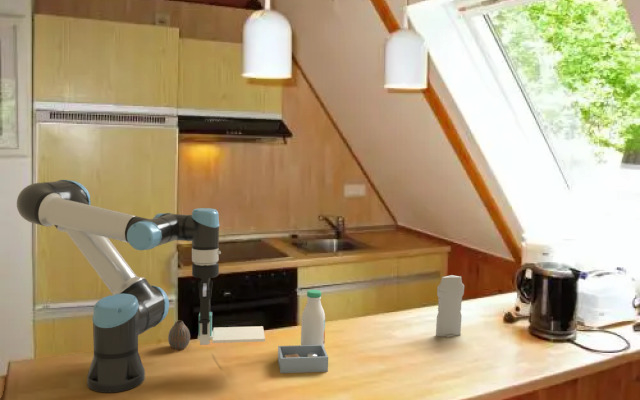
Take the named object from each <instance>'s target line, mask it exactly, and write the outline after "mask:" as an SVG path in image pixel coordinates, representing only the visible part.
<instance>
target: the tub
mask: <svg viewBox="0 0 640 400" xmlns="http://www.w3.org/2000/svg"><path fill="white" fill-rule="evenodd" d="M308 353H316V354H318V357H307V354H308ZM290 354H298V355H299V356H300V357H291V358H284V355H290ZM277 363H278V367H279V372H280V374H294V373H295V374H297V373H298V374H299V373H321V372H322V373H324V372H325V373H327V372H328V371H329V368H328V367H329V356H328V354H327V351H326V349H325V345H324V346H323V345H301V344H300V345H278V346H277Z"/></svg>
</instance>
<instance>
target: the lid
mask: <svg viewBox="0 0 640 400" xmlns="http://www.w3.org/2000/svg"><path fill="white" fill-rule="evenodd" d="M212 312H213V311H210V312H209V320H210V340H212V344H225V343H227V344H228V343H257V342H260V343H261V342H266V335H265V331H264V326H262V325H261V326H228V327H226V326H224V327H223V326H222V327H219V326H218V327H213V315H212ZM198 321H200V311H199V314H198ZM197 340H198V341H200V323H198V335H197Z"/></svg>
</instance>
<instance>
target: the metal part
mask: <svg viewBox="0 0 640 400" xmlns="http://www.w3.org/2000/svg"><path fill="white" fill-rule="evenodd" d="M307 357H318V354H316V353H308V354H307Z"/></svg>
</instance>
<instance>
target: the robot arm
mask: <svg viewBox="0 0 640 400" xmlns="http://www.w3.org/2000/svg"><path fill="white" fill-rule="evenodd" d="M90 199H91V196H90V192H89V191H88V189H87V188H86V187H85V186H84V185H83V184H82V183H80V182H78V181H76V180H70V179H69V180H68V179H60V180H56V181H45V182H36V183H32V184H31V183H30V184H29V185H27V186H25V187H24V188H22V189H21V191H20V193H19V194H18V195H17V199H16V208H17V211H18V213H19V215H20V216H21V218H22V219H24V220H26V221H27V222H29V223H32V224H35V225H39V226H43V227H47V228H48V227H55V228H56V229H57V231H58V232H62V233H66V234H67V235H68V237H69V238H70V239H71V240H72V242H73V243H74V245H75V246H76V247H77V249H78V250H79V251H80V253H82V255H83V257H84V258H85V260H86V261H87V262H88V263H89V264H90V266H91V267H92V268H93V270H94V271H95V273H96V274H97V276H98V277H99V278H100V279H101V280H102V282H103V284H105V286H106V287H107V288H108V290H109V291H110V293H111V294H112V295H107V296H104V297H102V298H100V299H99V300H98V301H96V302H95V304H94V306H93V314H92V318H91V319H92V323H93V324H92V325H93V326H92V329H93V334H92V335H93V358H92V360H91V364H90V366H89V371H88V373H87V376H86V377H87V379H86V380H87V381H86V383H87V384H86V385H87V387H88V388H89V389H90V390H92V391H94V392H99V393H119V392H125V391H128V390H132V389H134V388H136V387H138V386H140V385H141V384H142V383H144V381H145V378H146V376H145V374H146V372H145V371H146V370H145V367H144V365H143V361H142V359H141V356H140V353H139V336H140V335H141V334H143V333H145V332H146V331H148V330H151V329H152V328H154V327H156V326H158V325H159V324H160V323H161V322H162V321H164V319H166V317H167V316H168V313H169V307H170V301H169V297H168V295H167V293H166V291H165V290H164V289H163V288H161V287H159V286H156V285H151V283H149V281H148V280H147V278H145V277H143V276H138V275H137V274H136V273H135V272H134V271H133V269H132V268H131V267H130V265H129V264H128V263H127V261H126V260H125V259H124V257H123V256H122V255H121V253H120V252H119V251H118V249H117V248H116V246H115V245H114V243H112V241H111V240H116V241H119V242H123V243H127V244H128V243H129V245H130V246H131V247H132V248H133V249H135V250H136V251H146V250H148V251H149V250H152V249H154V248H157V247H159V246H162V245H164V244H168V243H171V242H175V241H181V242H182V241H184V242H185V241H186V242H191V246H192V247H191V262H192V266H191V275H192V277H193V278H196V279H200V280H198V283H197V285H198V286H197V287H198V288H197V290H198V298H199V300H200V301H199V306H200V307H199V312H200V321H199V320H198V321H197V324H199V323H200V340H199V345H200V346H206V345H209V346H210V344H211V341H210V340H211V339H210V320H209V312H212V316H213V315H214V314H213V311H211V309H212V308H211V298H212V293H213V291H212V290H213V280H211V279H214V278H216V277H218V276H219V274H220V272H219V271H220V267H219V266H220V264H219V263H218V262H219V259H220V258H219V255H221V254H222V252H221V250H220V249H219V247H220V245H219V242H220V240H219V236H220V226H221V225H220V220H219V218H220V217H219V211H218V210H217V209H215V208H210V207H208V208H207V207H202V208H201V207H198V208H194V209H193V210H192V211H191V214H178V213H171V212H166V213H165V212H164V213H163V212H161V213H156V214H155V215H154V217H153V218H146V217H141V216H137V215H134V214H130V213H129V214H128V213H125V212H120V211H117V210H111V209H107V208H104V207H101V206H100V207H99V206H95V205H91V200H90ZM110 239H111V240H110Z"/></svg>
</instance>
